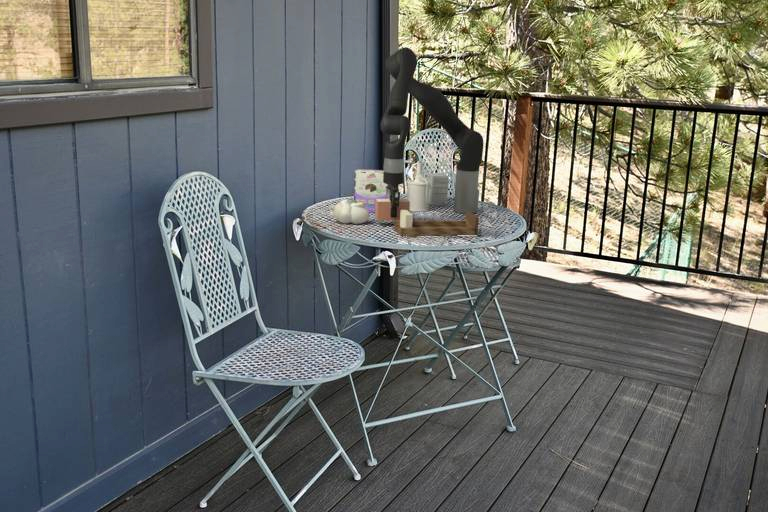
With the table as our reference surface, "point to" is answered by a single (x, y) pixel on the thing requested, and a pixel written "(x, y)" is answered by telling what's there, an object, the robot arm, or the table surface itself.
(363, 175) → the candy box
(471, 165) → the robot arm
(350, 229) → the table surface
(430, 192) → the supplement box
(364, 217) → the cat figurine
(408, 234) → the book rack
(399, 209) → the book
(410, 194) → the white bottle
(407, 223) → the bookend
